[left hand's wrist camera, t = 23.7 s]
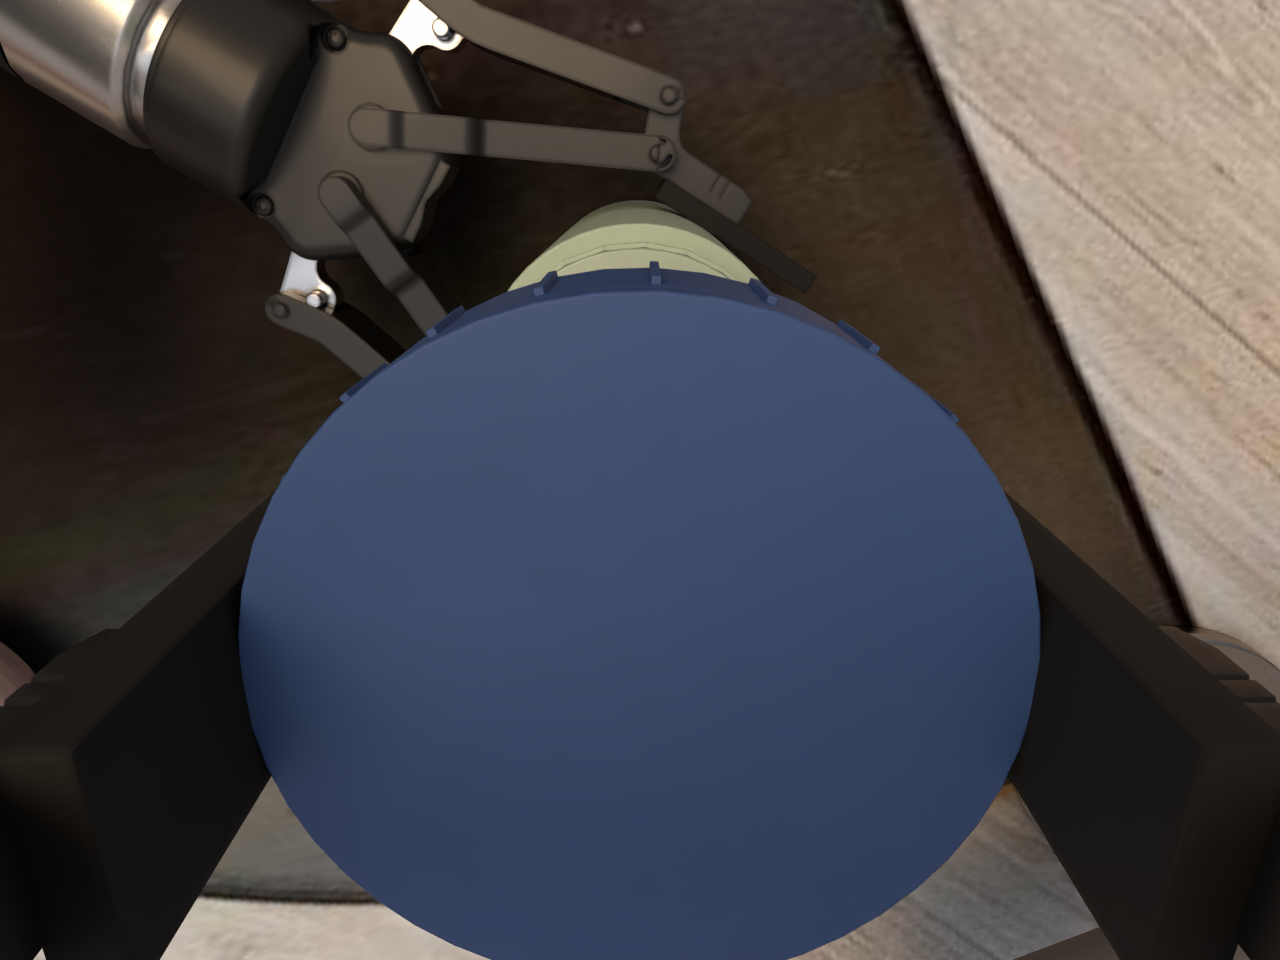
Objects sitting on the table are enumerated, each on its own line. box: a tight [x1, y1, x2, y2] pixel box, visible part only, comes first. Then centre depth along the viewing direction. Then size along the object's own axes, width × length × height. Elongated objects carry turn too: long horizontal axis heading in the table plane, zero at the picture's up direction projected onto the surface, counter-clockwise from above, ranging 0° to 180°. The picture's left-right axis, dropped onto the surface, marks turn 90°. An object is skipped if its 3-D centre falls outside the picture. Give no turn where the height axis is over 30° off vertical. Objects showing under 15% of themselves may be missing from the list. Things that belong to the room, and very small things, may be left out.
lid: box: [238, 261, 1040, 960], centre depth 11 cm, size 10×10×2 cm
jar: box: [507, 200, 760, 292], centre depth 31 cm, size 9×9×18 cm
